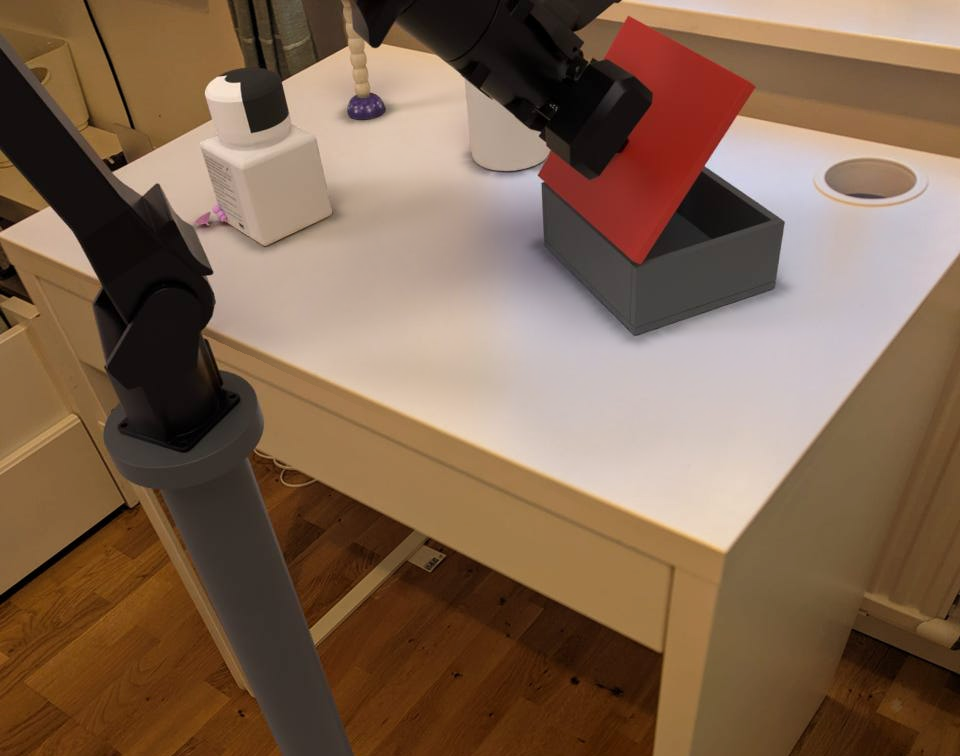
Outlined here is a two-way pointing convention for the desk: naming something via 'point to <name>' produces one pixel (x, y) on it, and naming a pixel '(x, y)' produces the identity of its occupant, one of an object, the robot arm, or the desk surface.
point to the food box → (673, 255)
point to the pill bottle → (500, 135)
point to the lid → (654, 140)
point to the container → (262, 158)
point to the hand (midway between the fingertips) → (622, 145)
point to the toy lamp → (360, 75)
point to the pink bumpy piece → (205, 217)
